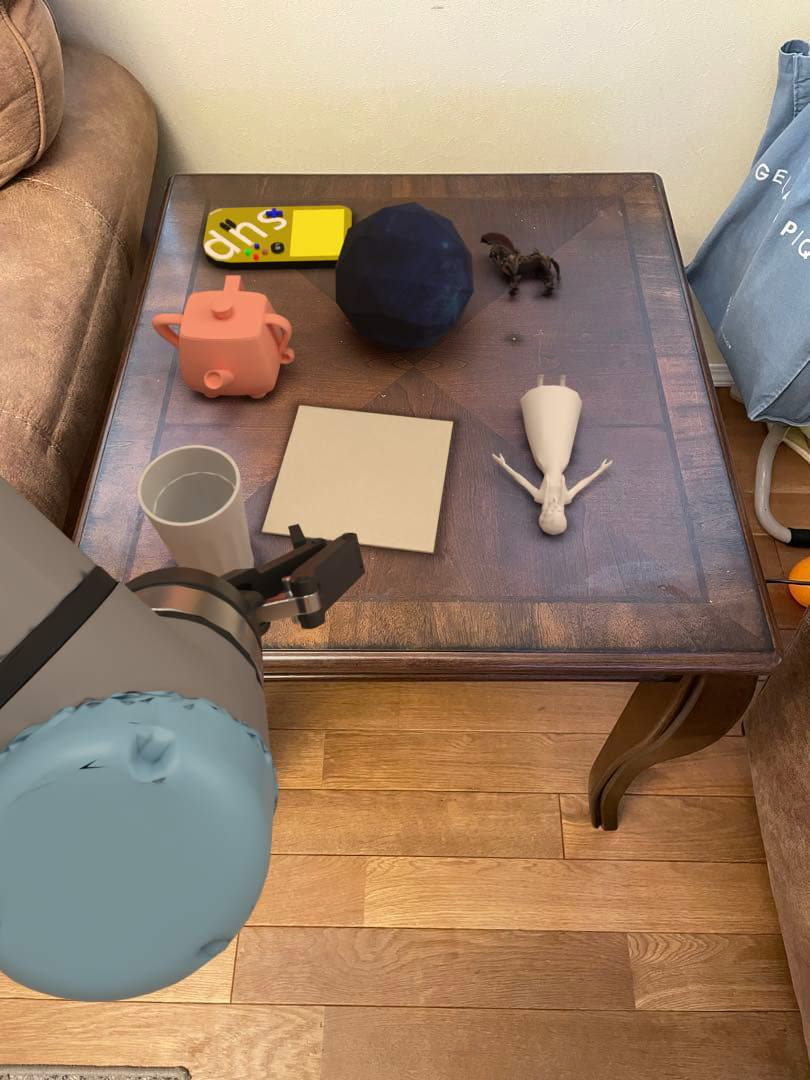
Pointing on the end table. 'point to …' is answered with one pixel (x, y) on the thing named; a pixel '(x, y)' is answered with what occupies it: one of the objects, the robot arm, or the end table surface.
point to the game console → (276, 237)
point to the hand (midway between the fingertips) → (199, 568)
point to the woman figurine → (551, 448)
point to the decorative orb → (403, 277)
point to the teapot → (228, 341)
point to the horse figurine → (520, 262)
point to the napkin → (362, 478)
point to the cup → (198, 508)
